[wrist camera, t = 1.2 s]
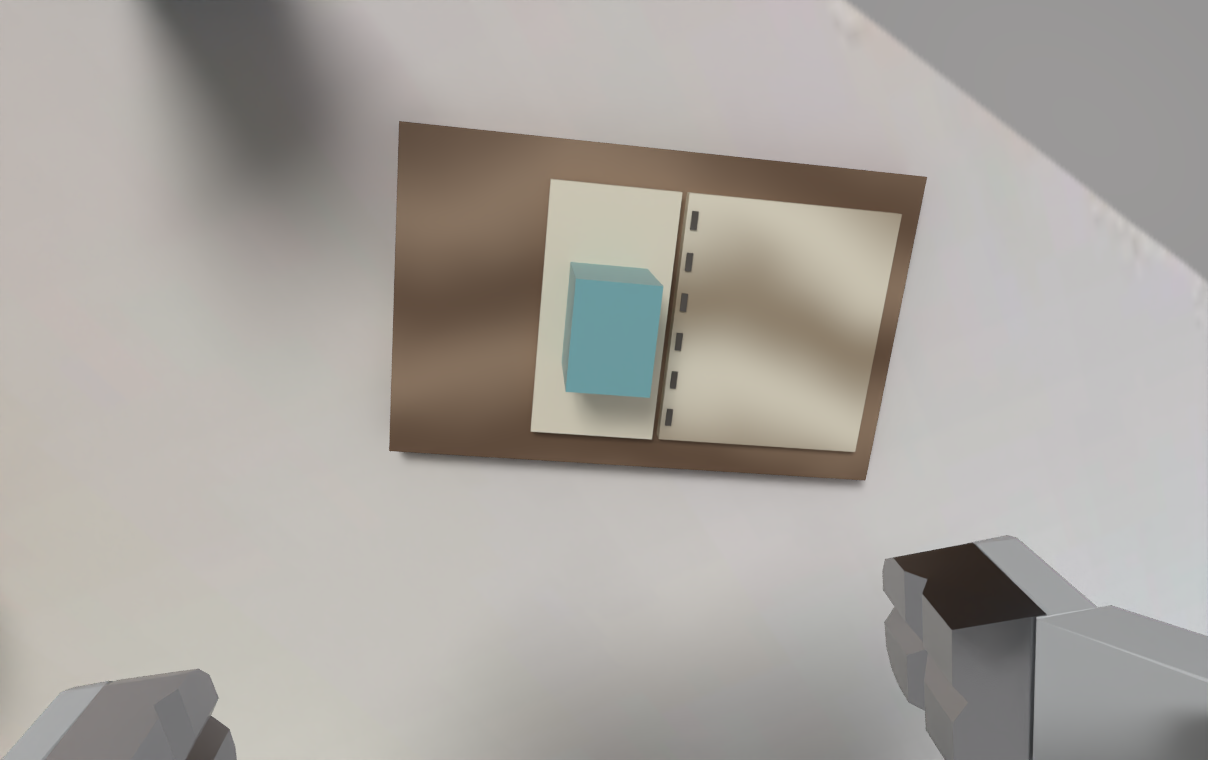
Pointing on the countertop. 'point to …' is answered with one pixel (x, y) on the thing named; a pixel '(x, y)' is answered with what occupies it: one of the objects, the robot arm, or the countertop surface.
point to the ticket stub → (603, 308)
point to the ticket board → (695, 313)
